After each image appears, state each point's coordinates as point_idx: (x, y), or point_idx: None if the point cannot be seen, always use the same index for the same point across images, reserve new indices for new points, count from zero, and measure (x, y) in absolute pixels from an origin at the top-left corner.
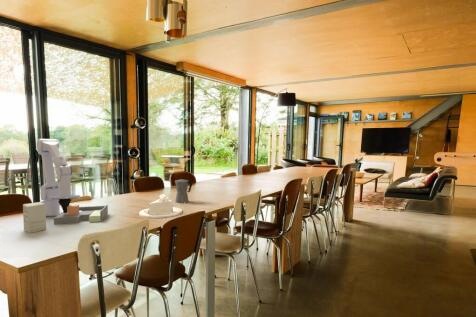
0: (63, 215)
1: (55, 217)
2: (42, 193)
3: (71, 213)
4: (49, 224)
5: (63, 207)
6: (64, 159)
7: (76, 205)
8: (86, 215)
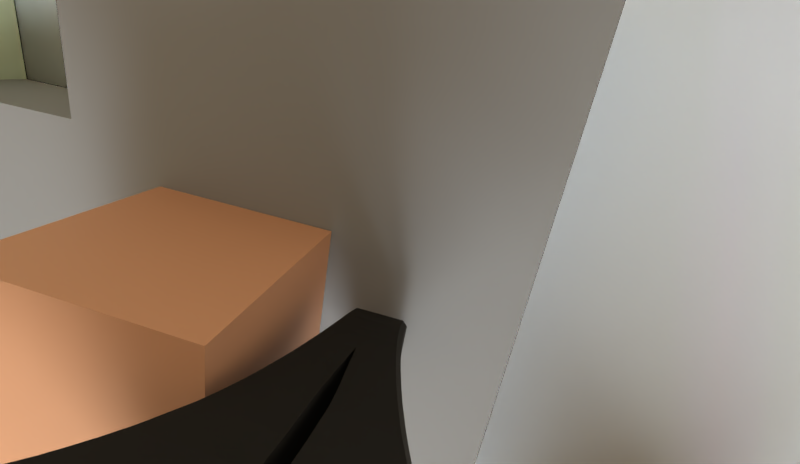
0: (406, 226)
1: (582, 77)
2: None
3: (234, 220)
4: (691, 10)
5: (349, 403)
6: None
7: (1, 391)
8: (2, 97)
